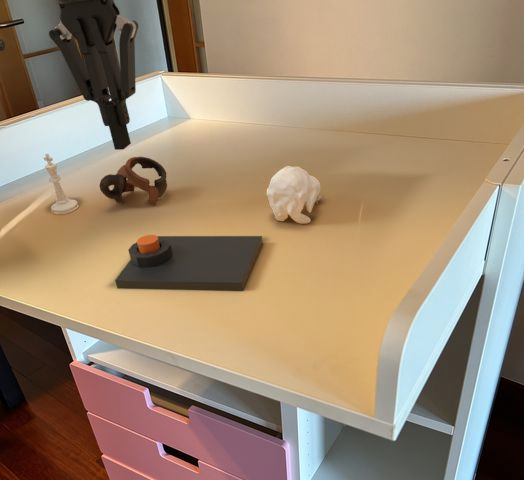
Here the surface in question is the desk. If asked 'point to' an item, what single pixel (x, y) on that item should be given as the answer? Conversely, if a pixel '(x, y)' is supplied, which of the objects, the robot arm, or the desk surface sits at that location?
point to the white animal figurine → (293, 194)
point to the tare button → (148, 244)
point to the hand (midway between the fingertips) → (122, 146)
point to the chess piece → (59, 191)
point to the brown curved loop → (134, 180)
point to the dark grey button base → (192, 263)
